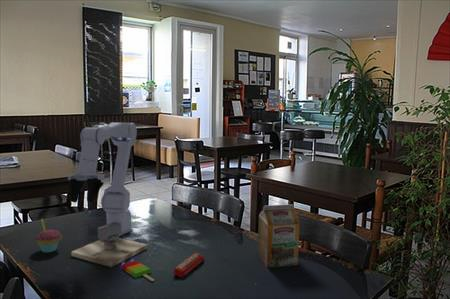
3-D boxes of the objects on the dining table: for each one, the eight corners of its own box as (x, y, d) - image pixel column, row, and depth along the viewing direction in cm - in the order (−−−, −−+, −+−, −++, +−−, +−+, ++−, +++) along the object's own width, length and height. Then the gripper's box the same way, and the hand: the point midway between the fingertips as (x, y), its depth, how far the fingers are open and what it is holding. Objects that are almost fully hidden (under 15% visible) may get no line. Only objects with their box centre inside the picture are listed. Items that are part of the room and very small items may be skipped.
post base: (109, 239, 157) (109, 227, 156) (147, 248, 148) (147, 236, 148) (71, 255, 141) (70, 243, 140) (111, 267, 133) (110, 253, 132)
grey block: (111, 233, 149) (111, 220, 148) (124, 236, 146) (124, 223, 145) (94, 241, 142) (94, 226, 141) (108, 244, 139) (107, 229, 138)
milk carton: (266, 267, 134) (268, 210, 131) (257, 254, 144) (259, 201, 141) (297, 265, 136) (300, 208, 133) (286, 252, 146) (288, 200, 143)
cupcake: (34, 255, 141) (32, 221, 139) (38, 246, 149) (36, 214, 147) (61, 253, 143) (59, 219, 141) (63, 244, 151) (62, 212, 150)
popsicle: (135, 265, 136) (135, 259, 135) (161, 280, 125) (161, 274, 124) (120, 269, 132) (120, 264, 132) (145, 286, 121) (145, 280, 121)
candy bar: (181, 280, 125) (181, 270, 124) (171, 277, 126) (171, 268, 126) (206, 260, 139) (206, 252, 139) (196, 258, 141) (196, 250, 140)
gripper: (63, 159, 140) (56, 199, 136) (95, 157, 133) (88, 200, 129) (79, 164, 146) (73, 203, 142) (111, 163, 139) (104, 203, 135)
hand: (81, 202), depth 136 cm, fingers open, 7 cm apart
